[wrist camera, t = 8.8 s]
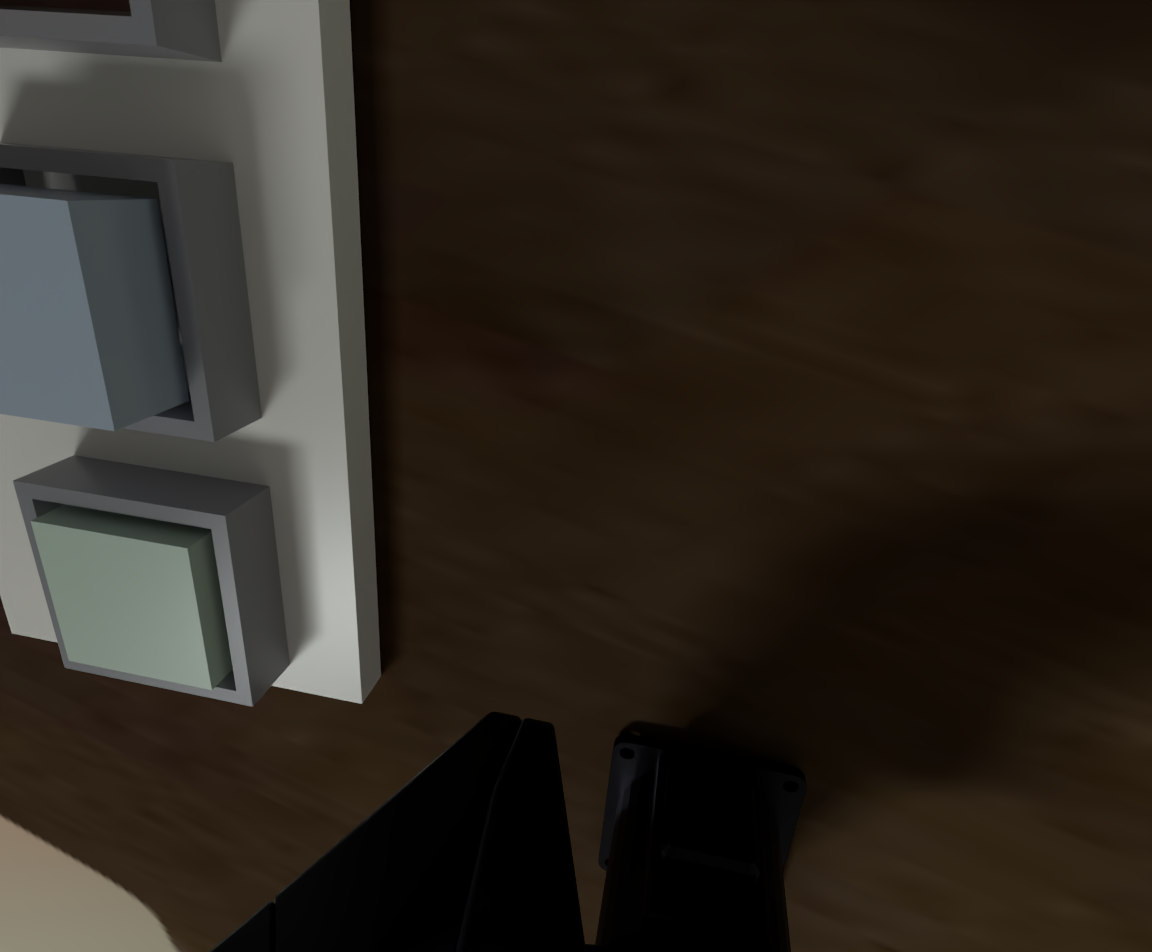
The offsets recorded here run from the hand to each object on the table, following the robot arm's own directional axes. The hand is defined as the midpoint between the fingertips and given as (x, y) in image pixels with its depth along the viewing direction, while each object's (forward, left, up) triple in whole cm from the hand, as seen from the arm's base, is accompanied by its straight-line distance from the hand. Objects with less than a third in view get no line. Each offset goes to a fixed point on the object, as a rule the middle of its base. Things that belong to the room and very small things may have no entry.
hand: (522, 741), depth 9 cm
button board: (+3, +15, -12) cm, 19 cm away
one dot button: (-6, +14, -10) cm, 18 cm away
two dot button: (+3, +14, -9) cm, 17 cm away
